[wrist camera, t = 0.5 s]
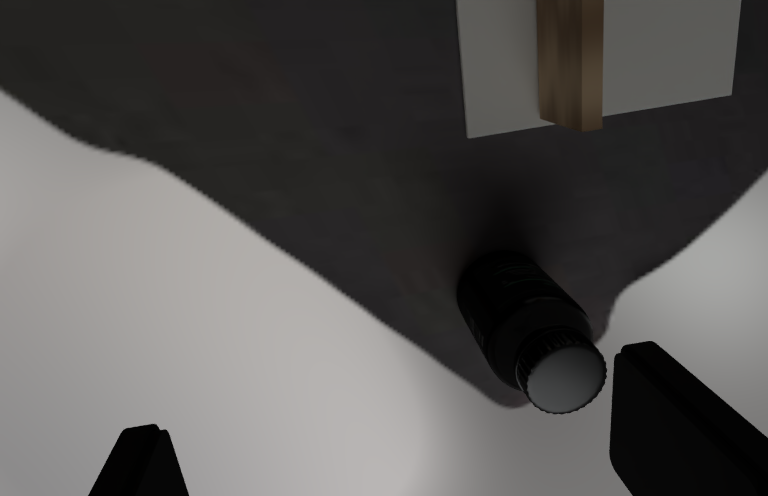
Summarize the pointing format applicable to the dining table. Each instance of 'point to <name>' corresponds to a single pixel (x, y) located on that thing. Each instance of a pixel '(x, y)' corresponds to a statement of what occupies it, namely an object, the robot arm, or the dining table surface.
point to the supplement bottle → (531, 332)
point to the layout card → (620, 58)
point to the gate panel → (571, 62)
